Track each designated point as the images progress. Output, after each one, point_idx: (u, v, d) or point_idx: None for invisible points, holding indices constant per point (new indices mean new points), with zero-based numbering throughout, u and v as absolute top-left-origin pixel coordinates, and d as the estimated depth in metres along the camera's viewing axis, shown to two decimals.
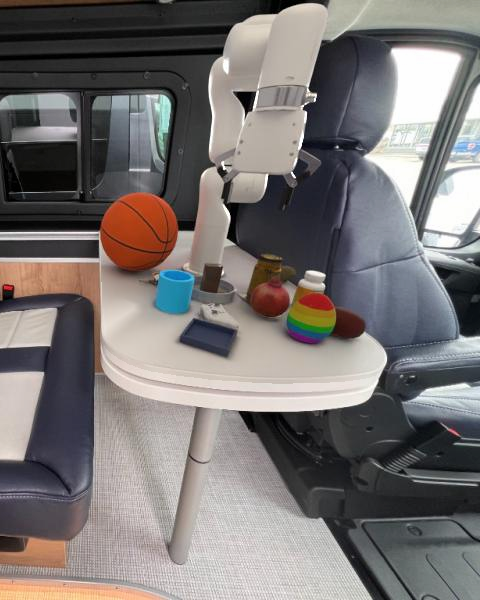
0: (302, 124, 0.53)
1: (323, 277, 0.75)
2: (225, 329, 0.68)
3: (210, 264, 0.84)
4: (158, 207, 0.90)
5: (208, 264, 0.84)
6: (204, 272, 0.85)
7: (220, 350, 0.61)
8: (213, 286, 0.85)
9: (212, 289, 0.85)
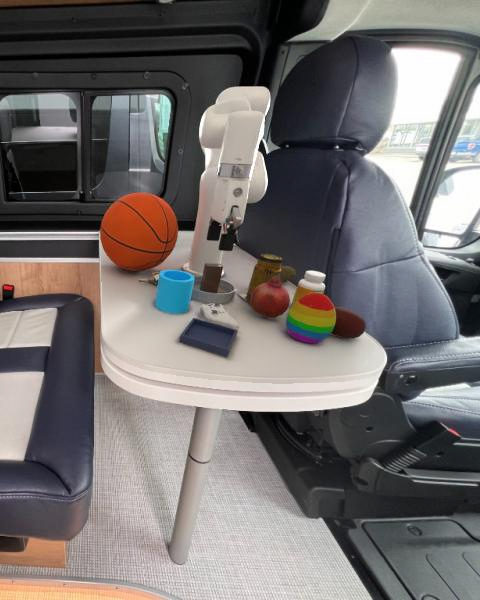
0: (230, 189, 0.72)
1: (323, 277, 0.75)
2: (225, 329, 0.68)
3: (210, 264, 0.84)
4: (158, 207, 0.90)
5: (208, 264, 0.84)
6: (204, 272, 0.85)
7: (220, 350, 0.61)
8: (213, 286, 0.85)
9: (212, 289, 0.85)
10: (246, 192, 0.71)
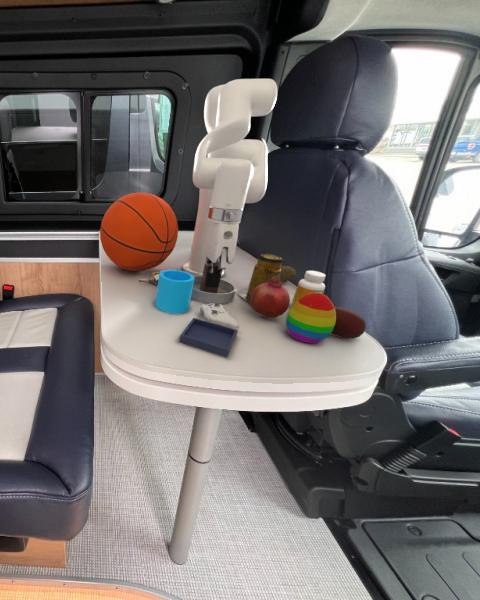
0: (221, 232, 0.76)
1: (323, 277, 0.75)
2: (225, 329, 0.68)
3: (210, 264, 0.84)
4: (158, 207, 0.90)
5: (208, 264, 0.84)
6: (204, 272, 0.85)
7: (220, 350, 0.61)
8: None
9: (212, 289, 0.85)
10: (236, 235, 0.76)
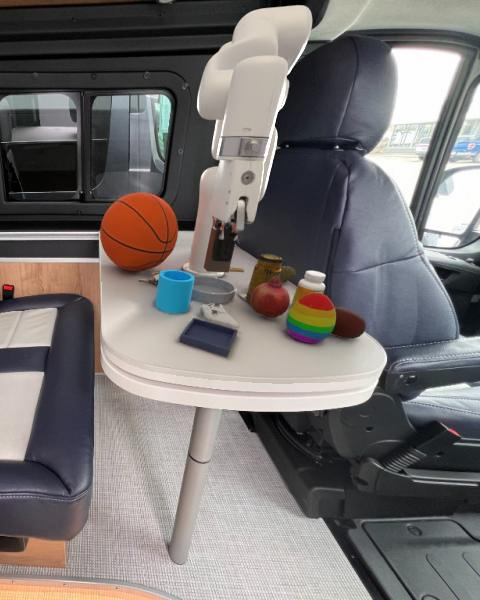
0: (237, 174, 0.50)
1: (323, 277, 0.75)
2: (225, 329, 0.68)
3: (219, 227, 0.58)
4: (158, 207, 0.90)
5: (217, 228, 0.58)
6: (211, 240, 0.59)
7: (220, 350, 0.61)
8: None
9: (221, 264, 0.60)
10: (260, 177, 0.50)
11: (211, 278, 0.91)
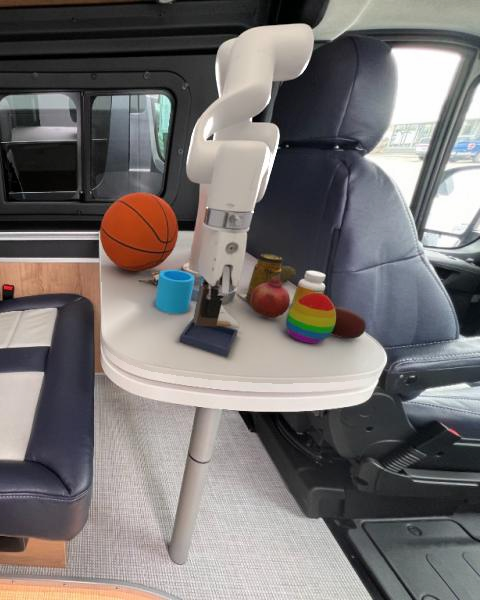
0: (222, 244, 0.53)
1: (323, 277, 0.75)
2: (225, 329, 0.68)
3: (207, 286, 0.61)
4: (158, 207, 0.90)
5: (204, 287, 0.61)
6: (199, 297, 0.62)
7: (220, 350, 0.61)
8: None
9: (209, 320, 0.63)
10: (243, 248, 0.53)
11: None
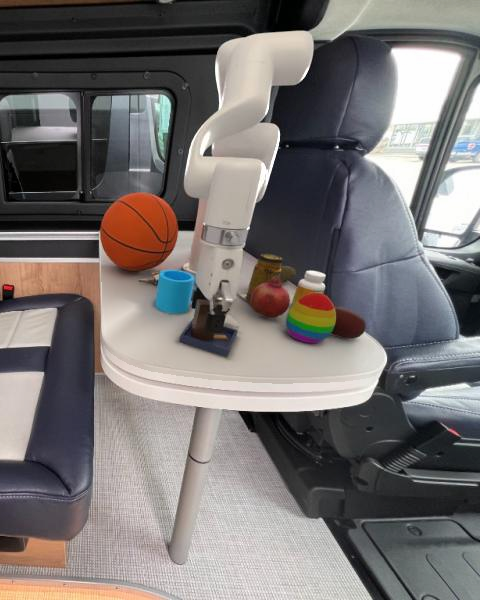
0: (218, 261, 0.55)
1: (323, 277, 0.75)
2: (225, 329, 0.68)
3: (204, 301, 0.63)
4: (158, 207, 0.90)
5: (201, 302, 0.62)
6: (196, 311, 0.64)
7: (220, 350, 0.61)
8: None
9: (206, 334, 0.64)
10: (239, 264, 0.54)
11: None
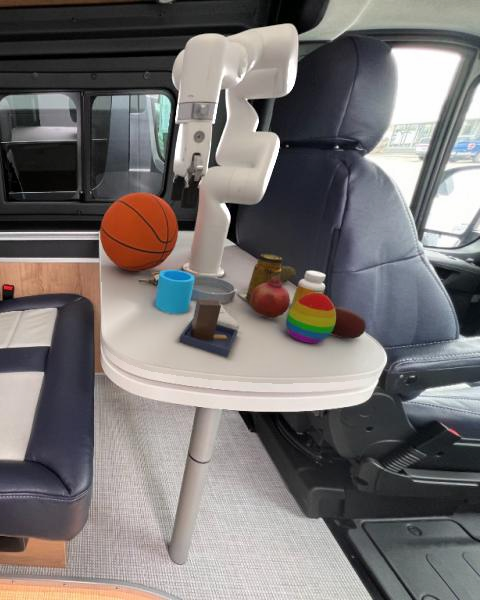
0: (191, 134, 0.61)
1: (323, 277, 0.75)
2: (225, 329, 0.68)
3: (204, 301, 0.63)
4: (158, 207, 0.90)
5: (201, 302, 0.62)
6: (196, 311, 0.64)
7: (220, 350, 0.61)
8: (208, 330, 0.64)
9: (206, 334, 0.64)
10: (209, 136, 0.61)
11: (211, 278, 0.91)
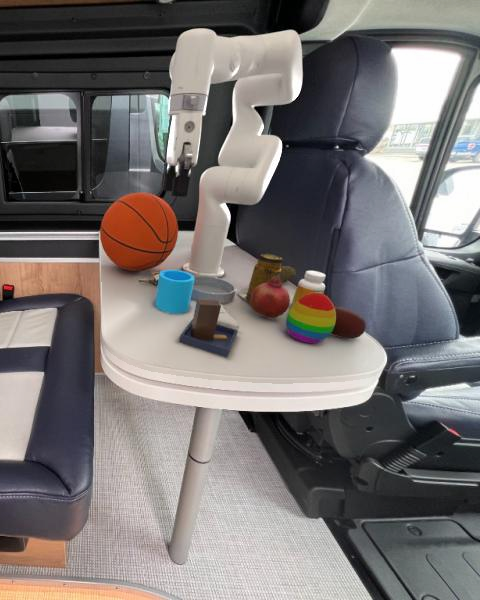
0: (181, 124, 0.64)
1: (323, 277, 0.75)
2: (225, 329, 0.68)
3: (204, 301, 0.63)
4: (158, 207, 0.90)
5: (201, 302, 0.62)
6: (196, 311, 0.64)
7: (220, 350, 0.61)
8: (208, 330, 0.64)
9: (206, 334, 0.64)
10: (199, 126, 0.64)
11: (211, 278, 0.91)
